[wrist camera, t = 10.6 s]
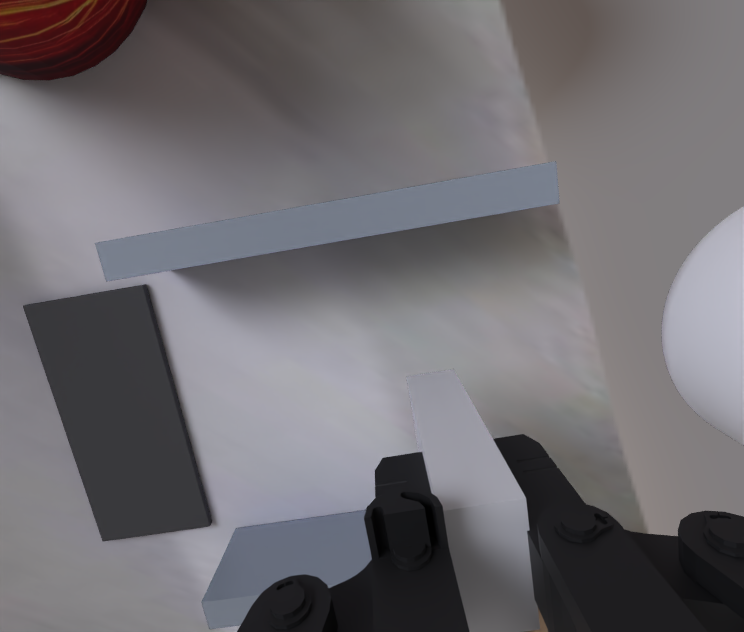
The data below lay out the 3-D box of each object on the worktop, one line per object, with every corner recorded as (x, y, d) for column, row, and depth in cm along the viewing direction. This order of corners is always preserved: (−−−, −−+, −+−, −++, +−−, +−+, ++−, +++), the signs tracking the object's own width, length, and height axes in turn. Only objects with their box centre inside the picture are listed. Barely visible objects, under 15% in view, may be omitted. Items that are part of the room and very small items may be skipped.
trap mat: (106, 536, 20) (102, 541, 20) (28, 304, 18) (22, 306, 18) (212, 521, 20) (209, 526, 20) (146, 284, 18) (142, 285, 18)
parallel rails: (242, 551, 20) (209, 629, 17) (158, 238, 17) (94, 243, 14) (547, 509, 20) (589, 580, 16) (514, 175, 17) (556, 161, 13)
